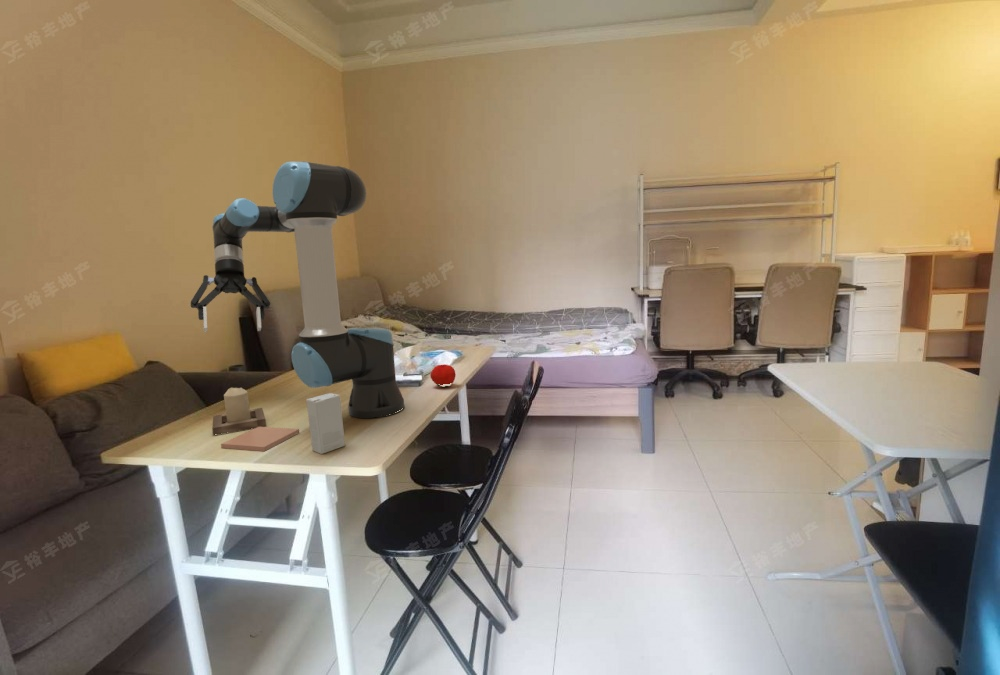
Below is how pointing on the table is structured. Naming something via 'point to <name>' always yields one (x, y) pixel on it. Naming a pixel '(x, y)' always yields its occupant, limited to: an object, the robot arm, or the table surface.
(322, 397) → the skincare box
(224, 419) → the walnut holder
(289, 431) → the terracotta tile
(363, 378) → the robot arm
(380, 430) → the table surface
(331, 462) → the table surface
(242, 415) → the candle
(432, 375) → the apple
